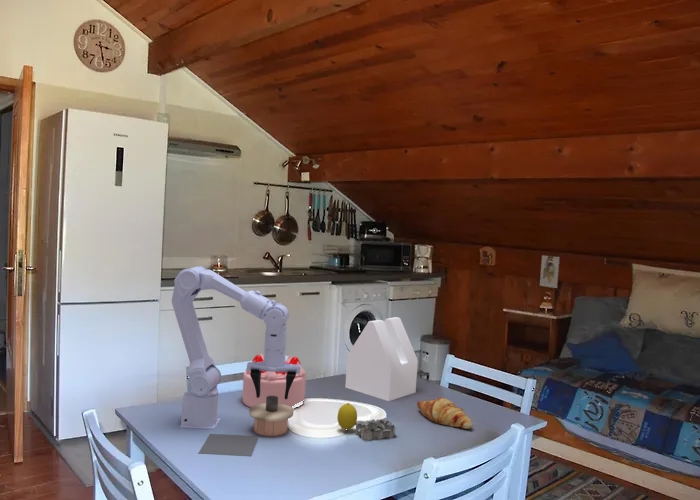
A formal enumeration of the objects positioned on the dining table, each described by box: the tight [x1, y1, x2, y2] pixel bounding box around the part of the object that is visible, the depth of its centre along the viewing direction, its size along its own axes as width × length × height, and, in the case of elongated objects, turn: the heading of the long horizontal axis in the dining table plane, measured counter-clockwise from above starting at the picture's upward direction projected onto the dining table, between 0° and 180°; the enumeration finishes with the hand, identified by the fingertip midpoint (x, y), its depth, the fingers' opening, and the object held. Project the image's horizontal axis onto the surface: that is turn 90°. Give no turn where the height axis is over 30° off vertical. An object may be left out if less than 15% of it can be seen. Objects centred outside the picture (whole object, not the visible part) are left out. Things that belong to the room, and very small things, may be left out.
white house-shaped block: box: [344, 316, 419, 402], centre depth 209 cm, size 19×15×25 cm
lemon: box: [337, 402, 358, 431], centre depth 168 cm, size 6×6×8 cm
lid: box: [248, 396, 294, 421], centre depth 164 cm, size 12×12×4 cm
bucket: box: [253, 418, 289, 437], centre depth 165 cm, size 9×9×5 cm
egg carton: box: [355, 417, 398, 441], centre depth 167 cm, size 11×8×4 cm
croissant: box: [416, 396, 474, 430], centre depth 182 cm, size 21×10×8 cm, turn 43°
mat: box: [197, 433, 259, 457], centre depth 153 cm, size 13×13×1 cm
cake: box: [241, 352, 307, 408], centre depth 190 cm, size 20×20×14 cm
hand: (272, 397), depth 165 cm, fingers open, 7 cm apart
